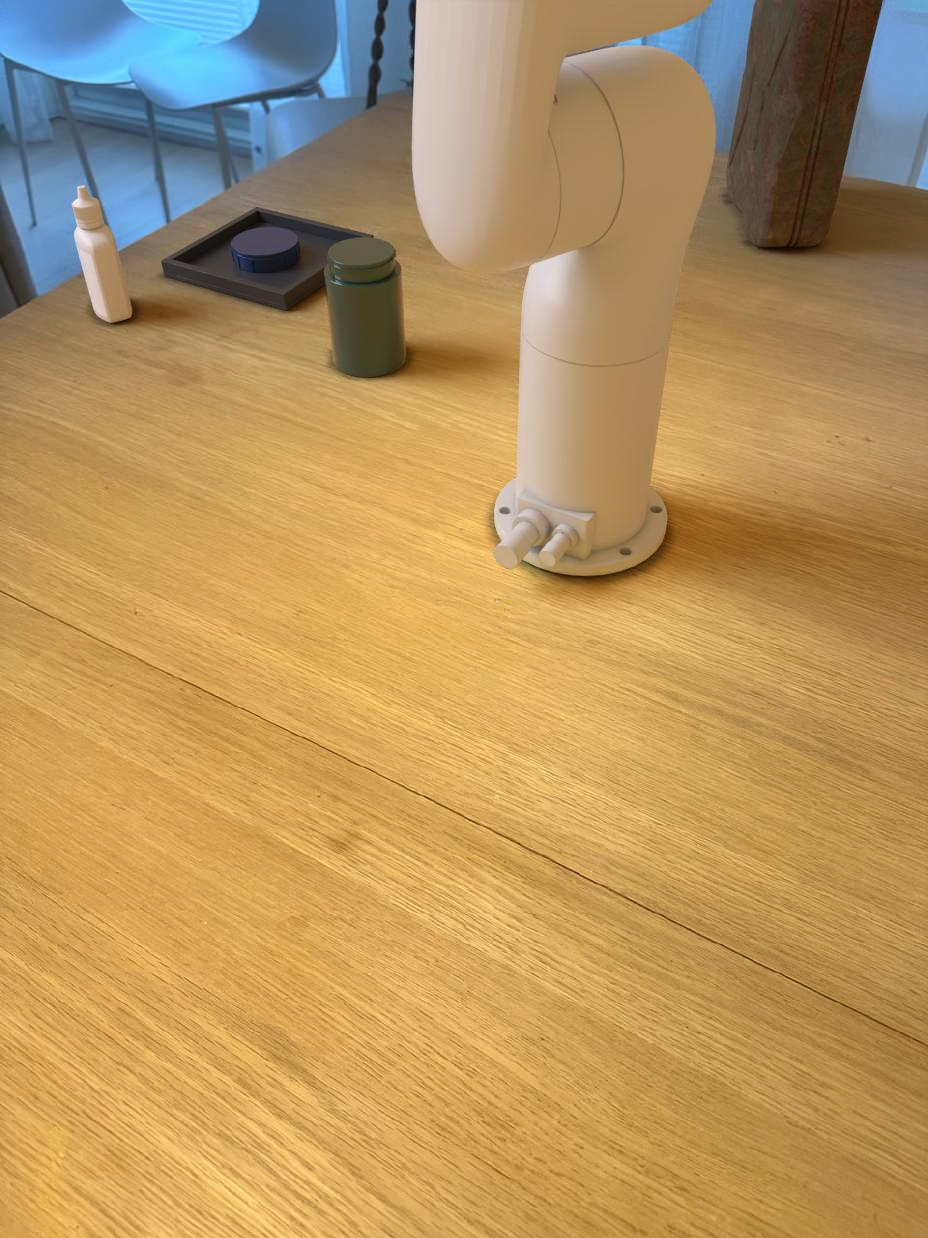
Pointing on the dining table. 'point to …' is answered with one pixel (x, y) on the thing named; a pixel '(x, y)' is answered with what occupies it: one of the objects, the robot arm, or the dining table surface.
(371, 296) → the jar
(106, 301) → the eye dropper bottle
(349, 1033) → the dining table surface
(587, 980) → the dining table surface
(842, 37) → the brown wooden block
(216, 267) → the tray
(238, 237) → the jar lid
